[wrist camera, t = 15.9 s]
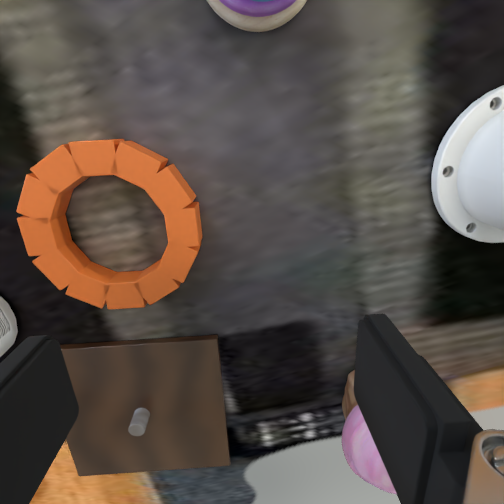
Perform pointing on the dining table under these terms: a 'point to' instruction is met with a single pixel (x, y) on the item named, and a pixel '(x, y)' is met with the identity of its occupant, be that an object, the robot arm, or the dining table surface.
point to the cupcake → (361, 443)
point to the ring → (67, 252)
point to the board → (147, 405)
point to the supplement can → (7, 327)
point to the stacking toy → (257, 12)
